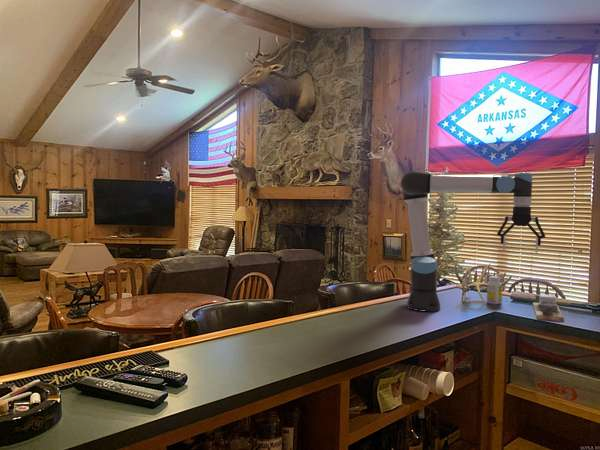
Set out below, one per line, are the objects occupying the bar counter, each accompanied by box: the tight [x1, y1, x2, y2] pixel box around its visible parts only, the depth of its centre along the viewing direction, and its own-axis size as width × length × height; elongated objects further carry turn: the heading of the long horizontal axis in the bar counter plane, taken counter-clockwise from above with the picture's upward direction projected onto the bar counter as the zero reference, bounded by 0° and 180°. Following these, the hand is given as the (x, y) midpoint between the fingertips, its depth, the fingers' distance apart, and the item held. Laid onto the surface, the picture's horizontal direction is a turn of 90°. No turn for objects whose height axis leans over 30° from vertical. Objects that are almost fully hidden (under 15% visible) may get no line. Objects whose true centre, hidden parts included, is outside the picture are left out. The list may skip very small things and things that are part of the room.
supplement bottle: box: [486, 275, 503, 305], centre depth 221 cm, size 7×7×13 cm
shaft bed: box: [532, 294, 565, 322], centre depth 201 cm, size 10×26×6 cm, turn 156°
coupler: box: [538, 293, 557, 305], centre depth 201 cm, size 6×9×6 cm, turn 156°
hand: (519, 251), depth 211 cm, fingers open, 13 cm apart
